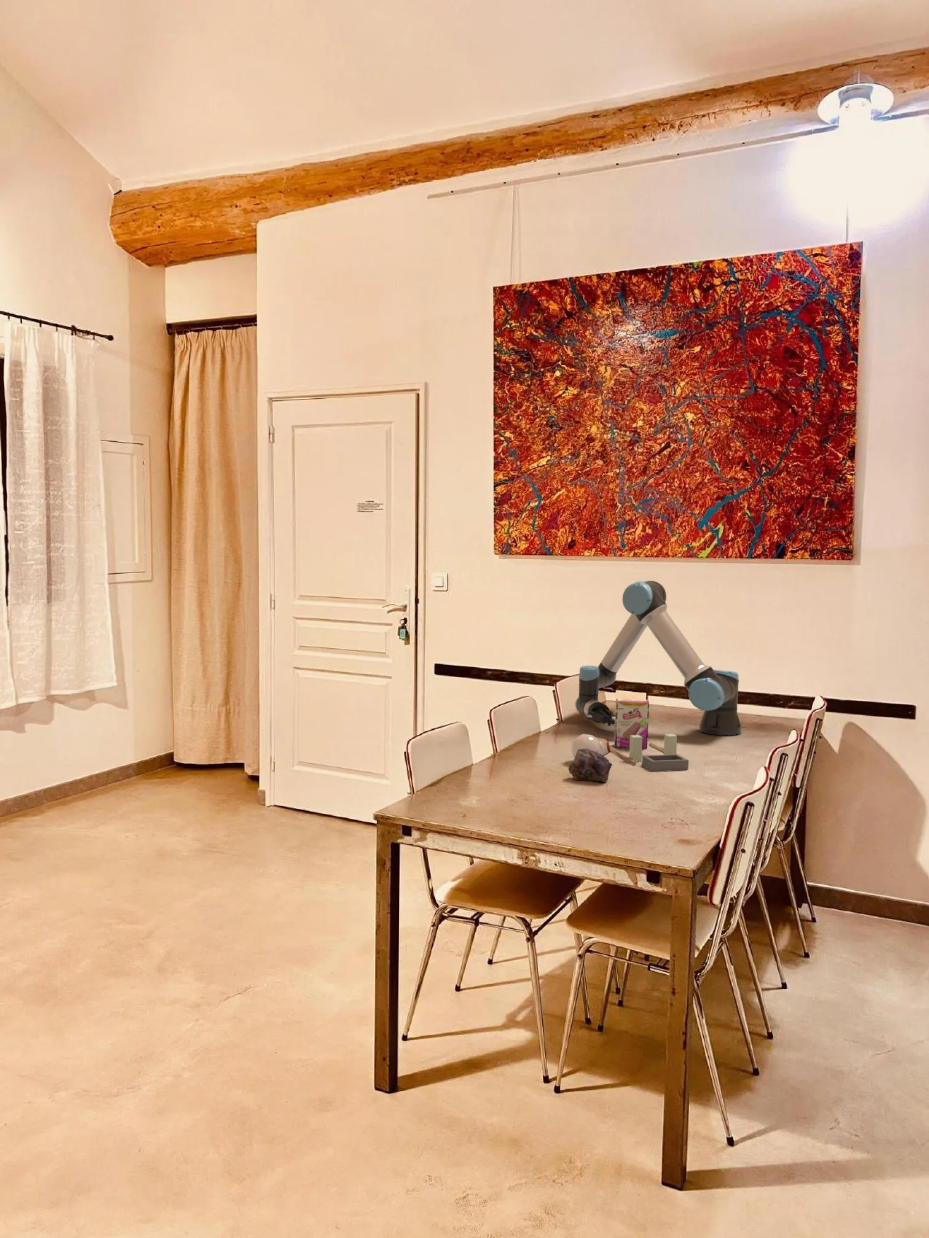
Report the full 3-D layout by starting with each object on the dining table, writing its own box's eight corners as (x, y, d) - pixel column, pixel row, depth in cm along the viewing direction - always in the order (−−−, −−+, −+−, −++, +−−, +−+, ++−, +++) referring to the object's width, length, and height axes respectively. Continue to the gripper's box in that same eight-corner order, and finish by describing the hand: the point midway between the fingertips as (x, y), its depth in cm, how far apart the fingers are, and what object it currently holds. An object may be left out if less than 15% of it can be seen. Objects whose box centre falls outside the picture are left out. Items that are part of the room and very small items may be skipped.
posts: (672, 757, 316) (673, 733, 315) (676, 760, 313) (677, 735, 312) (629, 759, 313) (629, 735, 312) (632, 761, 310) (633, 737, 309)
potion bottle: (573, 769, 304) (596, 766, 316) (596, 755, 299) (619, 753, 311) (560, 743, 307) (584, 741, 319) (583, 729, 303) (607, 727, 314)
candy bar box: (614, 748, 329) (616, 700, 327) (613, 745, 334) (615, 698, 332) (648, 749, 328) (649, 701, 326) (646, 746, 333) (648, 699, 331)
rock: (601, 789, 281) (612, 780, 290) (606, 761, 280) (617, 753, 289) (564, 778, 286) (576, 769, 295) (569, 750, 285) (581, 743, 294)
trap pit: (677, 763, 309) (677, 754, 309) (688, 769, 301) (688, 760, 301) (642, 764, 306) (642, 755, 306) (652, 771, 299) (652, 761, 298)
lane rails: (652, 744, 335) (652, 741, 335) (685, 762, 310) (685, 759, 309) (603, 746, 331) (603, 743, 331) (633, 765, 306) (633, 761, 306)
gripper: (613, 720, 365) (637, 734, 342) (580, 721, 362) (602, 735, 339) (613, 701, 364) (637, 713, 341) (580, 702, 361) (603, 714, 338)
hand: (620, 724), depth 340 cm, fingers closed
